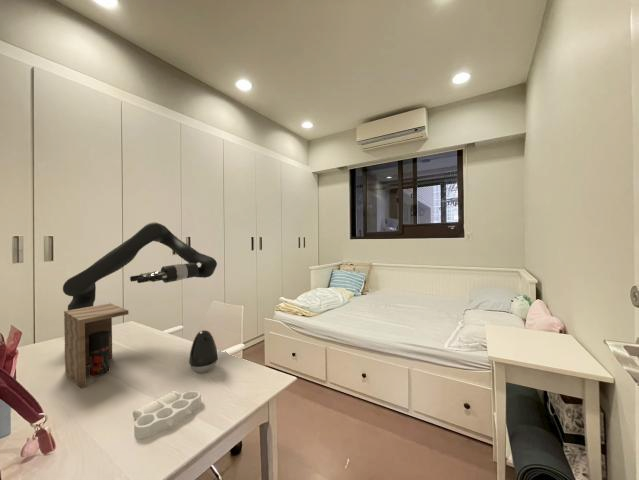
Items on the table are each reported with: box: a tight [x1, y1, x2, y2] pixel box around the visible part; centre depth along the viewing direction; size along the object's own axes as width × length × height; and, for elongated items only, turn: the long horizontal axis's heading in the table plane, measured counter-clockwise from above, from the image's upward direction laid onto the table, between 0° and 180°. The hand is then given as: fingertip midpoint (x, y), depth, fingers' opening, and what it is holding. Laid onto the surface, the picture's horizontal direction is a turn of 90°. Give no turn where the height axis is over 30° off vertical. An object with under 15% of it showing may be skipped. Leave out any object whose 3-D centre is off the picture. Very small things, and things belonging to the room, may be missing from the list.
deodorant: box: [88, 331, 111, 377], centre depth 102 cm, size 6×6×15 cm
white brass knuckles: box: [132, 390, 202, 440], centre depth 77 cm, size 3×18×15 cm
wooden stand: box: [63, 302, 129, 389], centre depth 103 cm, size 20×14×24 cm
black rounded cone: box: [188, 329, 219, 374], centre depth 103 cm, size 10×10×15 cm
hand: (133, 279), depth 111 cm, fingers open, 8 cm apart
